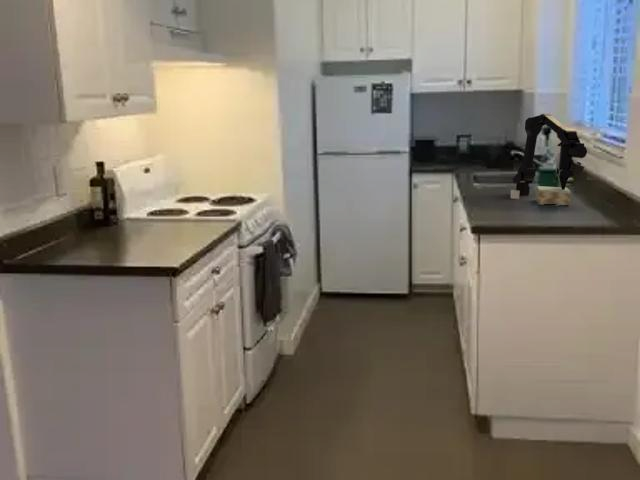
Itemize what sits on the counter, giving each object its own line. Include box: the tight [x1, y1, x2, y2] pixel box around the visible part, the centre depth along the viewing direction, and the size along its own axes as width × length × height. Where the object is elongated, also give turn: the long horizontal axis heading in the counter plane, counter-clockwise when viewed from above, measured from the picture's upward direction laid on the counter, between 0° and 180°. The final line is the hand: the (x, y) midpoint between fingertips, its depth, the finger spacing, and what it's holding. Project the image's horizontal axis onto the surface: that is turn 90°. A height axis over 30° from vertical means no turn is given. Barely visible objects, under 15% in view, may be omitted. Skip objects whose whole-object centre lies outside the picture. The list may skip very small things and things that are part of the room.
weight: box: [510, 189, 520, 200], centre depth 344 cm, size 4×4×4 cm
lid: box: [536, 185, 571, 193], centre depth 330 cm, size 14×14×1 cm
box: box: [535, 187, 571, 205], centre depth 331 cm, size 14×14×6 cm
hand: (563, 189), depth 329 cm, fingers closed, pressing on lid
